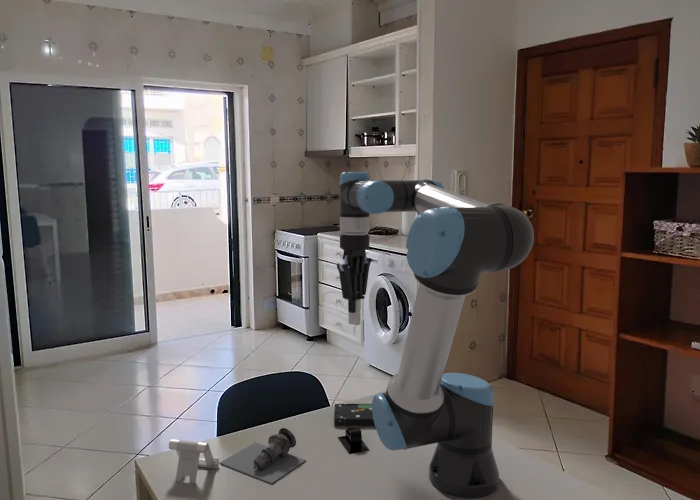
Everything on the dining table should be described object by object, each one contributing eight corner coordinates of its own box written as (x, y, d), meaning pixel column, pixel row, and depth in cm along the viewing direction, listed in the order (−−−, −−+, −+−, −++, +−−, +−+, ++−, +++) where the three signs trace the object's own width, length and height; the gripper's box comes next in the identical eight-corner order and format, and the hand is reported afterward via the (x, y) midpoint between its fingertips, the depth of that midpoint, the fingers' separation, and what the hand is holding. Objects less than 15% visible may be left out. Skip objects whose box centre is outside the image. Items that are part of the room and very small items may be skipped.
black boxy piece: (332, 437, 148) (332, 420, 147) (359, 433, 150) (359, 416, 149) (348, 459, 136) (348, 441, 135) (376, 455, 138) (376, 437, 138)
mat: (305, 461, 134) (305, 460, 134) (271, 484, 124) (271, 483, 124) (255, 443, 143) (255, 442, 143) (219, 463, 133) (219, 462, 133)
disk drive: (334, 429, 153) (389, 427, 153) (333, 419, 152) (389, 417, 152) (334, 412, 163) (386, 411, 163) (334, 403, 162) (386, 402, 163)
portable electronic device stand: (219, 466, 132) (218, 432, 131) (203, 484, 125) (201, 448, 123) (185, 462, 134) (183, 428, 133) (167, 479, 126) (165, 444, 125)
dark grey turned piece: (286, 423, 136) (252, 454, 127) (301, 444, 135) (267, 476, 126) (274, 431, 140) (239, 461, 130) (288, 451, 139) (254, 482, 130)
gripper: (356, 230, 152) (355, 316, 155) (327, 234, 141) (328, 327, 144) (380, 231, 148) (379, 320, 151) (352, 236, 137) (352, 332, 140)
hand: (354, 323), depth 148 cm, fingers closed
